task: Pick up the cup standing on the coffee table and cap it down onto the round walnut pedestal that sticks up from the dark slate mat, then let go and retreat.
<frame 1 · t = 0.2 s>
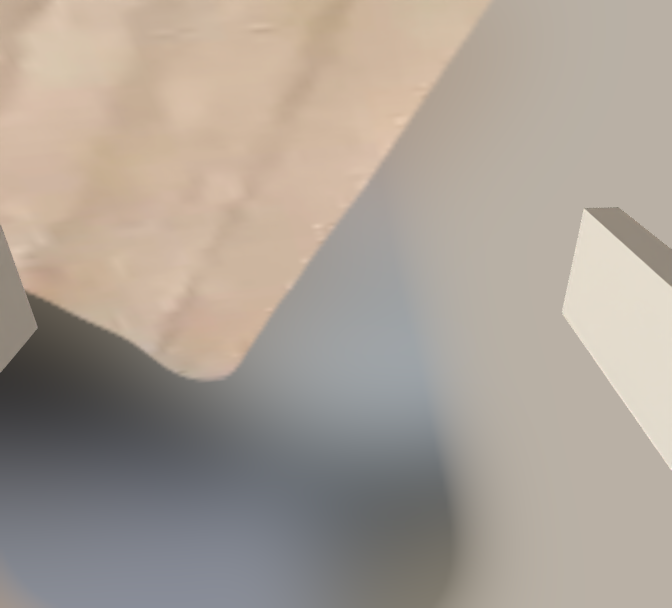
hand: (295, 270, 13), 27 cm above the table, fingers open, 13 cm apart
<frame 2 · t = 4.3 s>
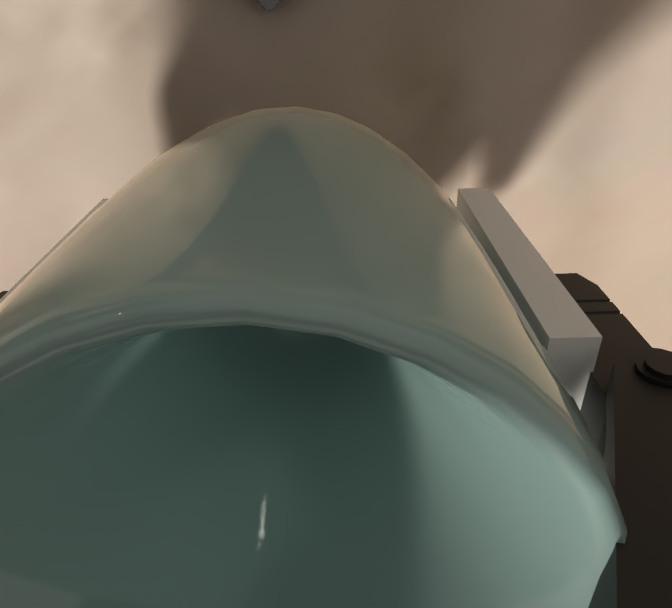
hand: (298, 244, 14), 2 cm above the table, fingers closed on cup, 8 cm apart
cup: (299, 232, 15), point 2 cm above the table, touching gripper
when the fingers open (5 cm above the table, at t = 9.3 s): cup stays where it is, resting on stand.
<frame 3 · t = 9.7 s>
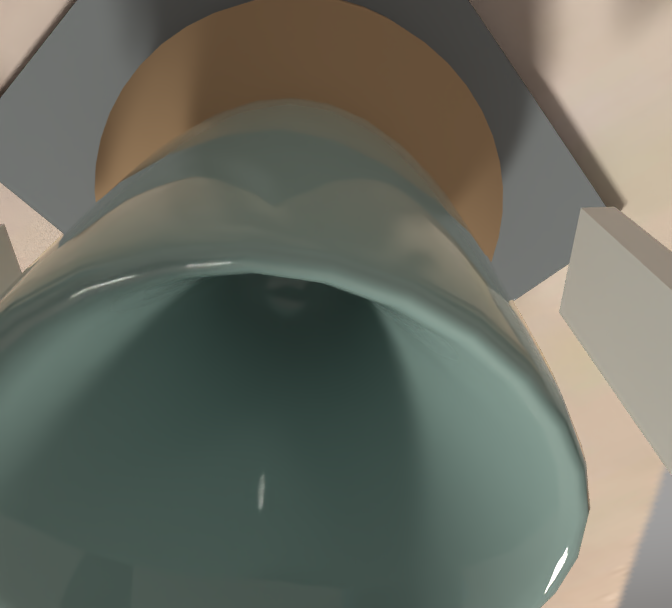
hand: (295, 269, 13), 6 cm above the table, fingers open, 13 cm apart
cup: (298, 220, 15), point 3 cm above the table, touching stand
stand: (305, 184, 18), on the table
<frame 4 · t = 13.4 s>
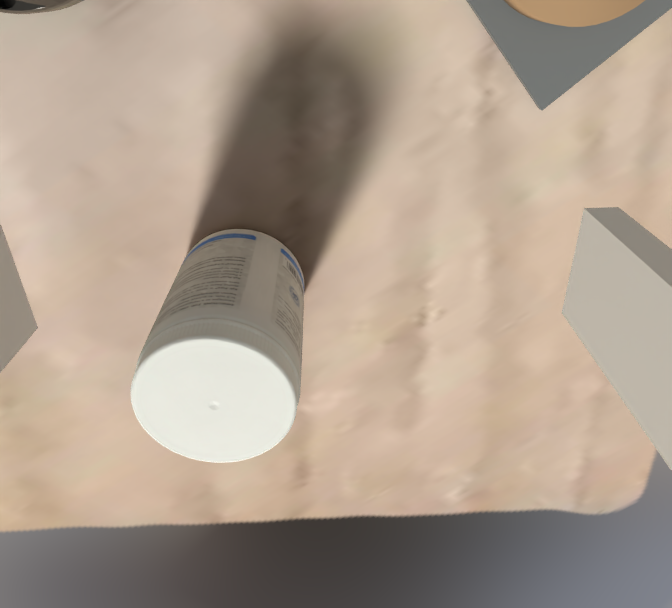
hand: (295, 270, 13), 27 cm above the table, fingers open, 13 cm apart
supplement tub: (246, 279, 43), on the table
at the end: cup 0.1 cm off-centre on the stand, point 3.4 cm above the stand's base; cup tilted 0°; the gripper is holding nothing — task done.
